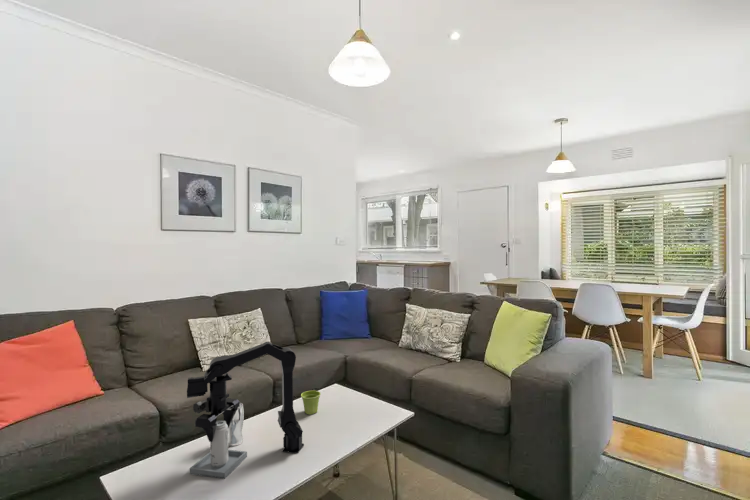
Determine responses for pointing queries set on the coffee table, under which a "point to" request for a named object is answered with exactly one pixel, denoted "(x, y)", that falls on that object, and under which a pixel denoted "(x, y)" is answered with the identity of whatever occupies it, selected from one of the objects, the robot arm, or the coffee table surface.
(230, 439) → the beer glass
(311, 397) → the plant pot
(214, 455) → the energy drink can
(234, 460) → the blue-gray tray
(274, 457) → the coffee table surface
